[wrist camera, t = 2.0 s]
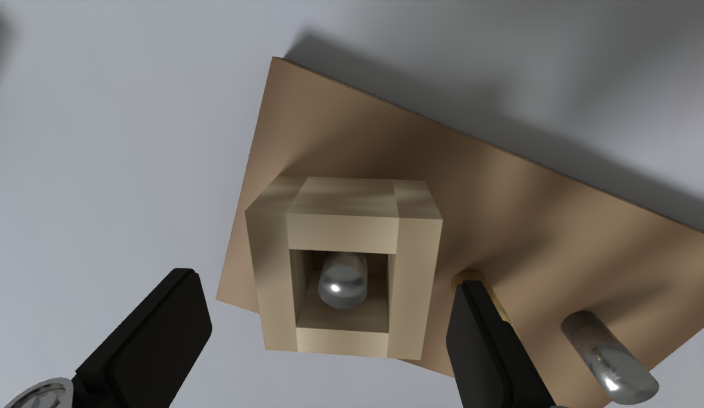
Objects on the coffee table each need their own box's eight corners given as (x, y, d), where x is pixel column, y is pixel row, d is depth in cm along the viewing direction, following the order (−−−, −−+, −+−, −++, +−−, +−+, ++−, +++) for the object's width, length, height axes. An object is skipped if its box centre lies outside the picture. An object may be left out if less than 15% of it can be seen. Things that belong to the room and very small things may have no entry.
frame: (424, 180, 14) (442, 219, 10) (410, 297, 17) (420, 360, 13) (277, 175, 14) (244, 211, 10) (288, 290, 17) (265, 349, 13)
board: (745, 249, 16) (910, 327, 11) (573, 398, 21) (631, 494, 17) (282, 58, 13) (231, 50, 9) (226, 283, 19) (177, 354, 14)
